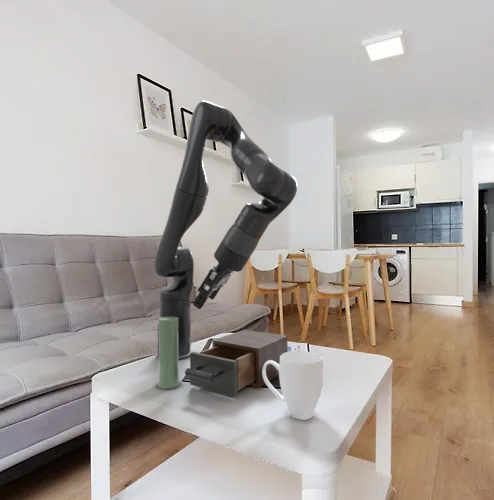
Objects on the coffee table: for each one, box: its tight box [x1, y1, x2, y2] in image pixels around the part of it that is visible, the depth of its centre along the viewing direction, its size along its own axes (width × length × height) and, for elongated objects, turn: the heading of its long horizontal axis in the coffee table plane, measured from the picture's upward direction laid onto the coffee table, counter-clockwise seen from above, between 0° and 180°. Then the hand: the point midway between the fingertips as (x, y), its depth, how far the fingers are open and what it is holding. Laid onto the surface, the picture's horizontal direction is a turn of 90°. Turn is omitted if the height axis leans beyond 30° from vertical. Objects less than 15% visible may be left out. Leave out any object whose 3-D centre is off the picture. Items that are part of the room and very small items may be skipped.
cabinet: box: [212, 329, 289, 389], centre depth 95 cm, size 15×14×9 cm
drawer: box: [184, 345, 256, 398], centre depth 85 cm, size 18×13×7 cm
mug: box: [262, 350, 324, 421], centre depth 72 cm, size 12×8×11 cm
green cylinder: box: [158, 317, 179, 390], centre depth 86 cm, size 5×5×16 cm
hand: (203, 301), depth 88 cm, fingers open, 8 cm apart
